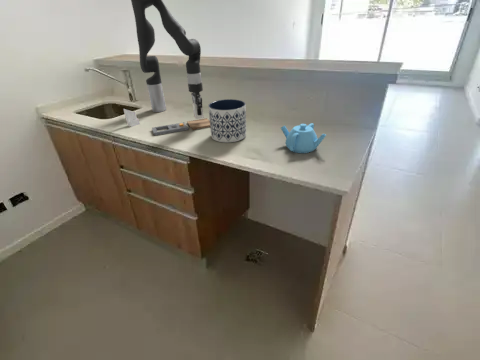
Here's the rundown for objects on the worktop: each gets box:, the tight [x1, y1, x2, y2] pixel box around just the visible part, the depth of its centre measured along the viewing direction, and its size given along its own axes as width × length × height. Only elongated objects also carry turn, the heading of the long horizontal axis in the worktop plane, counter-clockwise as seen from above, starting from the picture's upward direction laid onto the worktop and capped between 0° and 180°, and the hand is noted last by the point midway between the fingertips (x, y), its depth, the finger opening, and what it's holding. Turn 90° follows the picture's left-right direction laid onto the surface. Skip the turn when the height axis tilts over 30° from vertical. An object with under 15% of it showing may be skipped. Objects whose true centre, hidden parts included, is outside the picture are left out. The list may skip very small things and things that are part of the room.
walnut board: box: [186, 117, 210, 131], centre depth 154 cm, size 12×12×1 cm
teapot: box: [280, 122, 327, 154], centre depth 122 cm, size 15×17×11 cm
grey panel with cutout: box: [151, 122, 189, 136], centre depth 149 cm, size 9×18×2 cm, turn 113°
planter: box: [207, 98, 247, 143], centre depth 135 cm, size 18×18×16 cm
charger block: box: [192, 102, 205, 120], centre depth 150 cm, size 4×4×9 cm
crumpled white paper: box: [123, 108, 141, 128], centre depth 156 cm, size 4×10×9 cm, turn 143°
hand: (198, 113), depth 151 cm, fingers closed on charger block, 4 cm apart
